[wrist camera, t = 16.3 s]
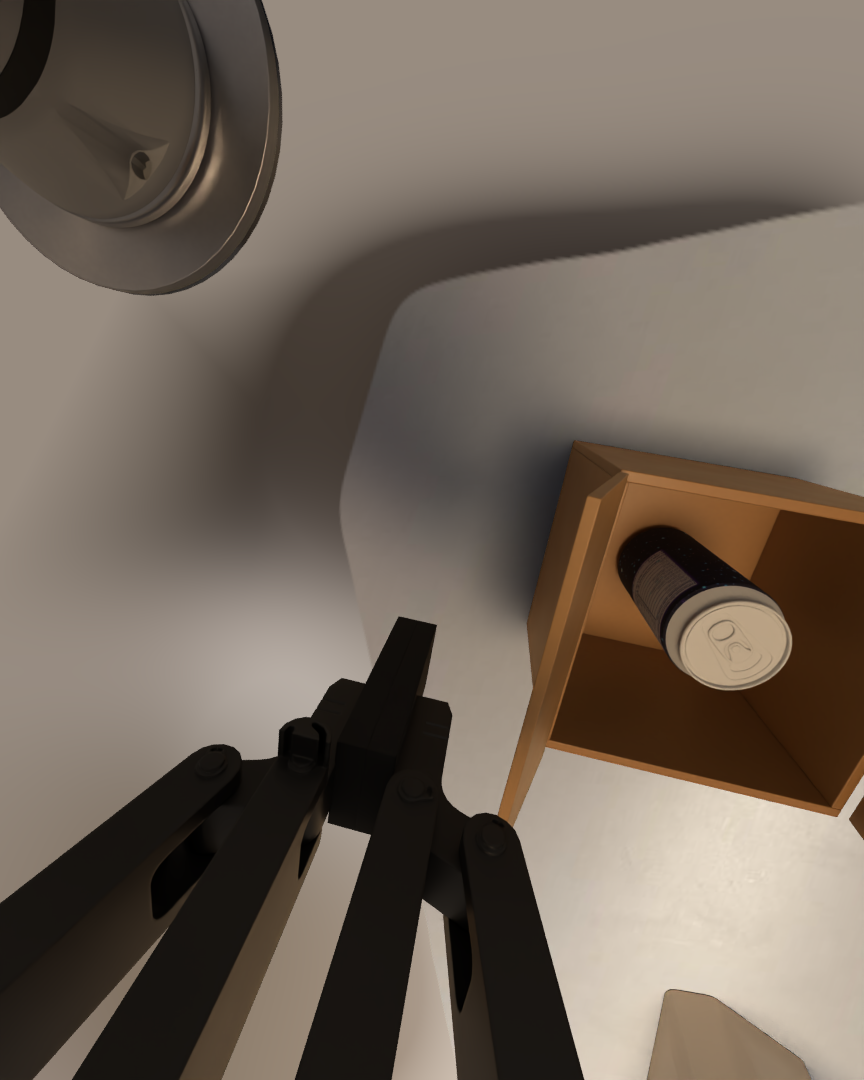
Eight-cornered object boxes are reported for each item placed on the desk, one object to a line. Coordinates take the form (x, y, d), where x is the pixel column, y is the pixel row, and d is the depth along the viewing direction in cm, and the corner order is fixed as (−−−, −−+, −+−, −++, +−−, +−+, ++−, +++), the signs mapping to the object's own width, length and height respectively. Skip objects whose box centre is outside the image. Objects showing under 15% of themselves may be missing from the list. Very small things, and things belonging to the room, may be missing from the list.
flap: (542, 756, 23) (535, 752, 23) (629, 473, 18) (619, 471, 18) (490, 880, 17) (480, 874, 17) (602, 498, 12) (587, 495, 12)
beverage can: (642, 609, 34) (711, 715, 23) (599, 553, 33) (648, 635, 22) (713, 568, 32) (826, 661, 21) (669, 508, 31) (762, 571, 20)
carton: (526, 623, 36) (552, 889, 17) (573, 439, 31) (689, 511, 12) (727, 666, 35) (1016, 1016, 15) (810, 480, 30) (1399, 641, 10)
